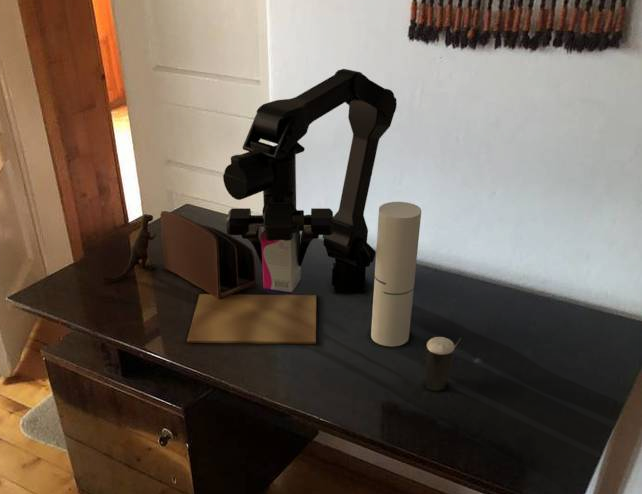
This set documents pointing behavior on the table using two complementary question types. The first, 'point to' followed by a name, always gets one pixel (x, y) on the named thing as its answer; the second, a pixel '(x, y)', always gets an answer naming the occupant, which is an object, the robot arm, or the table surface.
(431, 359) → the milkshake
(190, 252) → the letter holder
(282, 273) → the supplement box
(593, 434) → the table surface
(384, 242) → the cylindrical container
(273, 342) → the desk mat
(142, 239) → the dinosaur model
